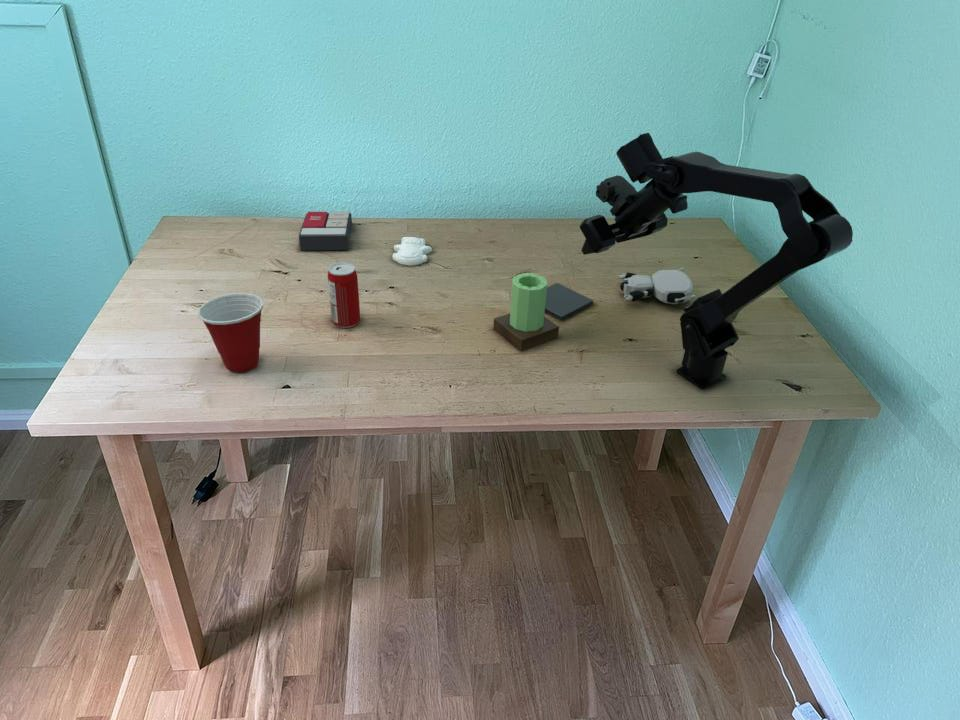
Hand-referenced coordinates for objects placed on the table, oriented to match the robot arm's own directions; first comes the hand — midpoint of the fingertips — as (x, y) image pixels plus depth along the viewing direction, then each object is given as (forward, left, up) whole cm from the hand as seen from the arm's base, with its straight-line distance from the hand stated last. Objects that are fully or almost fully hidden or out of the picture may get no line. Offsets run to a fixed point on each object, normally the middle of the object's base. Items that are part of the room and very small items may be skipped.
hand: (599, 246), depth 138 cm
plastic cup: (+19, +66, -15) cm, 71 cm away
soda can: (+22, +44, -15) cm, 52 cm away
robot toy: (-3, -16, -15) cm, 22 cm away
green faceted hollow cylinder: (0, +17, -12) cm, 21 cm away
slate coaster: (+6, +4, -14) cm, 16 cm away
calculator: (+59, +31, -15) cm, 69 cm away
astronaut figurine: (+41, +18, -15) cm, 47 cm away
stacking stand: (0, +17, -14) cm, 22 cm away
